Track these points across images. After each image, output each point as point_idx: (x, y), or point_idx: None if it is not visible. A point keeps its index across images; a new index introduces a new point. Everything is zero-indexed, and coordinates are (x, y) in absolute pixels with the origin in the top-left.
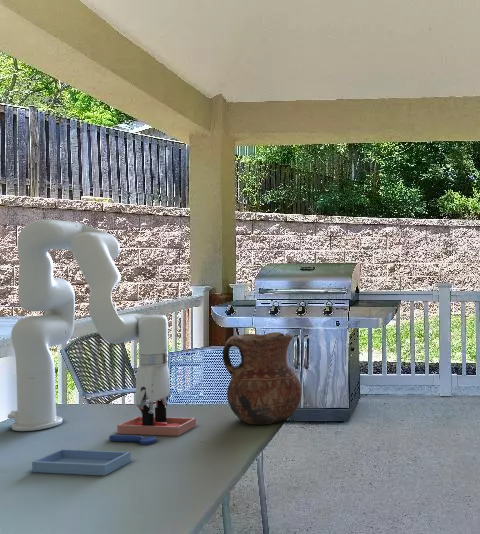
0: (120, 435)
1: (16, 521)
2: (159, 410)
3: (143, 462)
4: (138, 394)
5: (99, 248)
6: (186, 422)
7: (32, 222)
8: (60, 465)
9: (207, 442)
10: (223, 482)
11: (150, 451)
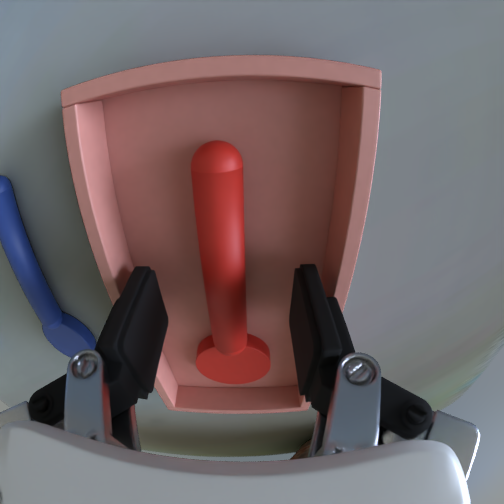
0: (2, 245)
1: None
2: (303, 362)
3: (14, 363)
4: (6, 492)
5: None
6: (238, 412)
7: None
8: None
9: (156, 425)
10: None
11: (42, 359)
